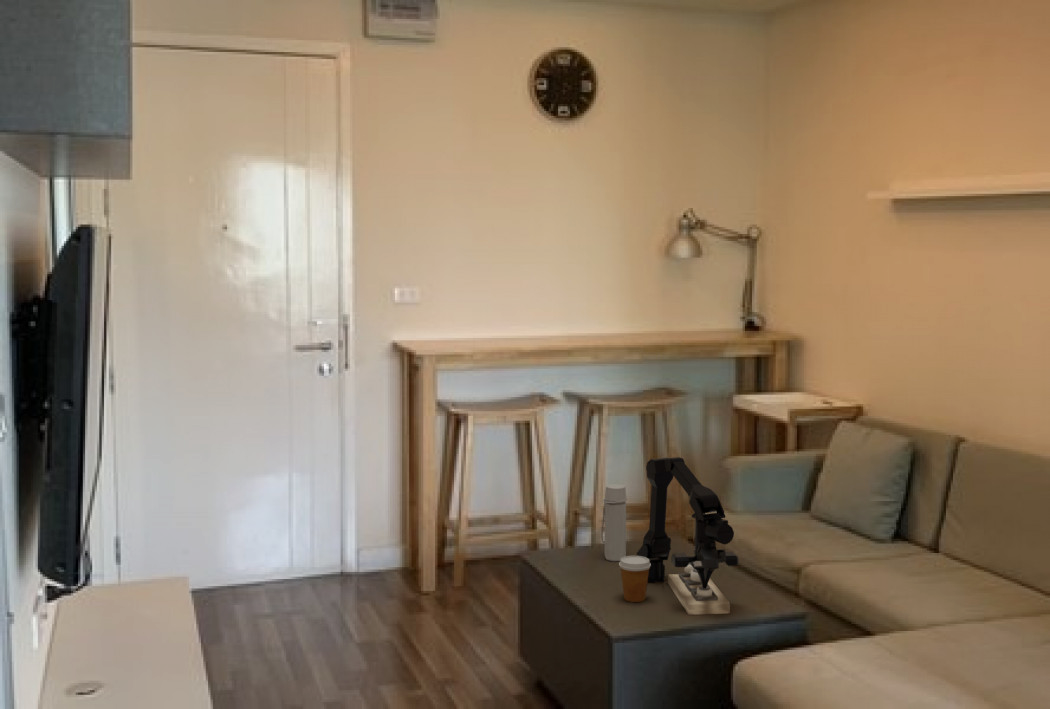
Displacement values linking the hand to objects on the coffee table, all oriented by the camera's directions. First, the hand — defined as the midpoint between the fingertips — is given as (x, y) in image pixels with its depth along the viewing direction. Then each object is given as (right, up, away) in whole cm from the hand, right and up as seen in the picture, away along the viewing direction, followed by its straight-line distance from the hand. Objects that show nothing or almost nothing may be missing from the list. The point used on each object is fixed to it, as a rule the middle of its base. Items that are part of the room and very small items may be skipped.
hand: (704, 587), depth 313 cm
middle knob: (-1, +1, +8) cm, 8 cm away
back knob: (-1, +1, +16) cm, 16 cm away
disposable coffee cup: (-20, -5, +8) cm, 22 cm away
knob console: (-1, -5, +8) cm, 10 cm away
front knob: (0, -3, 0) cm, 3 cm away
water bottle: (-23, -1, +49) cm, 54 cm away
